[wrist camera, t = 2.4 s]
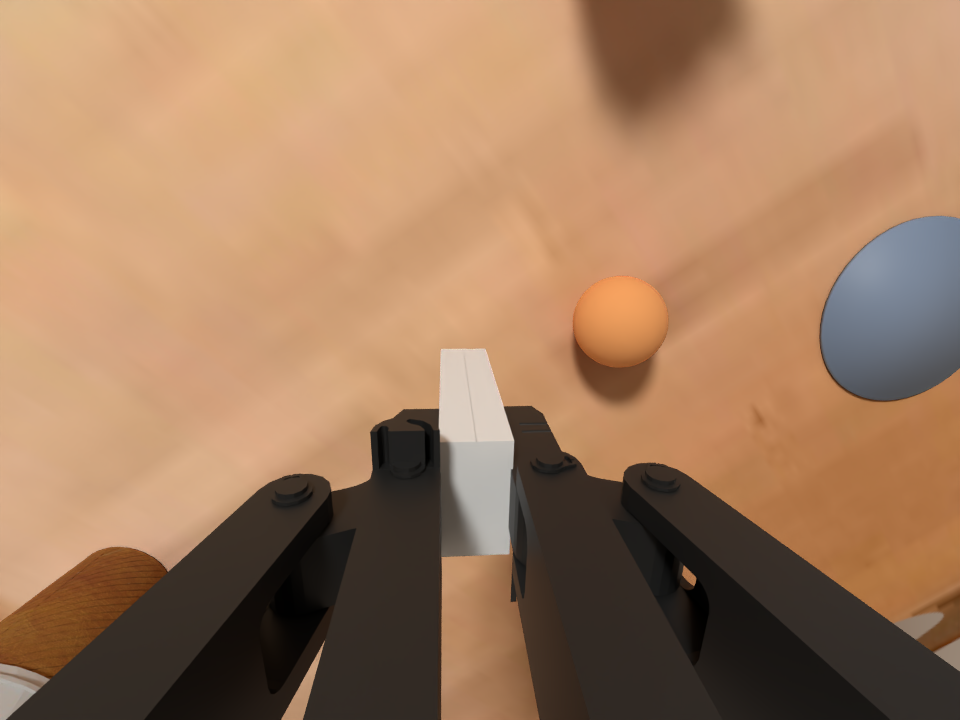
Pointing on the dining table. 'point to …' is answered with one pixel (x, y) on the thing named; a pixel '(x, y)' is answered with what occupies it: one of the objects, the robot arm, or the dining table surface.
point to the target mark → (896, 312)
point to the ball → (620, 321)
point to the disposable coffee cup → (68, 619)
